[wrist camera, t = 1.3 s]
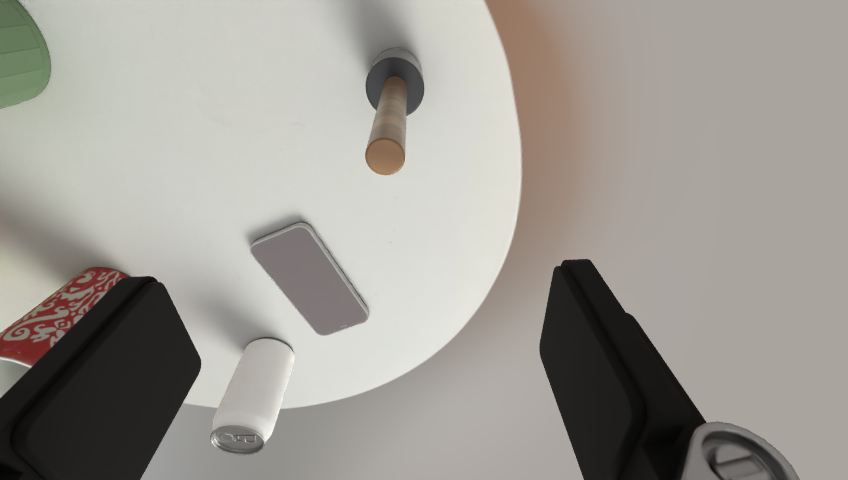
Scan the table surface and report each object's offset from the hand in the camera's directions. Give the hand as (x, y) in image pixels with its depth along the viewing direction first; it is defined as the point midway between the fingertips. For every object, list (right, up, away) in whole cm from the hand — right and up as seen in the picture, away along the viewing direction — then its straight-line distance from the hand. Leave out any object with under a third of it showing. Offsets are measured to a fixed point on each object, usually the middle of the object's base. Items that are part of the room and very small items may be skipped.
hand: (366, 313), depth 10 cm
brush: (-1, +16, +24) cm, 29 cm away
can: (-19, -13, +42) cm, 48 cm away
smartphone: (-11, -3, +36) cm, 38 cm away
